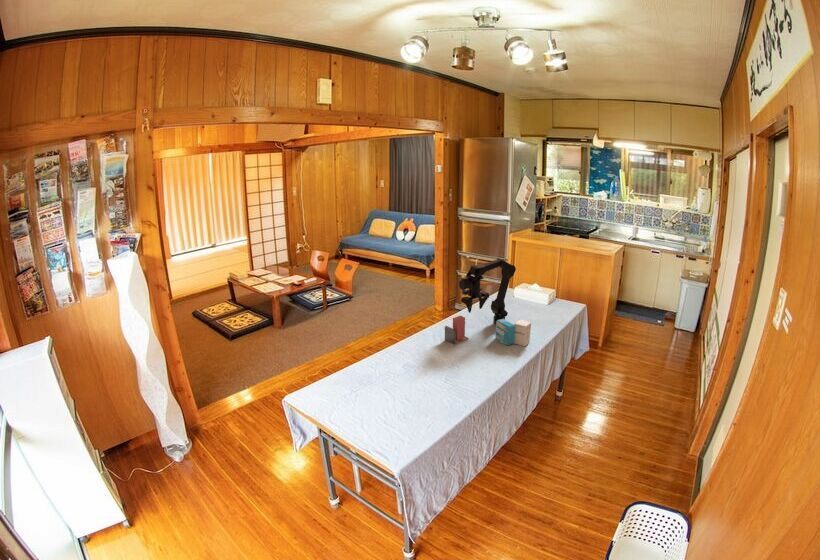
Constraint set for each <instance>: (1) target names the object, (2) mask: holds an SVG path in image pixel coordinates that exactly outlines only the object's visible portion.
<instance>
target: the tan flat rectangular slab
mask: <svg viewBox="0 0 820 560" xmlns="http://www.w3.org/2000/svg"><path fill="white" fill-rule="evenodd" d="M468 340H469V337H468V336H466V335H465V337H464V338H461V339H458V340H456V345H458V344H460V343H463V342H466V341H468Z"/></svg>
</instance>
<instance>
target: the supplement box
mask: <svg viewBox="0 0 820 560" xmlns="http://www.w3.org/2000/svg"><path fill="white" fill-rule="evenodd" d="M513 325H514V326H515V339H514V344H516V345H520V346H523V347H526V346H527V345H528V344H529V343H530V340H531V339H530V337H531V329H532V321H527V320H523V319H518V320H517V321H516V322H515V323H514V324H513Z"/></svg>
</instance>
